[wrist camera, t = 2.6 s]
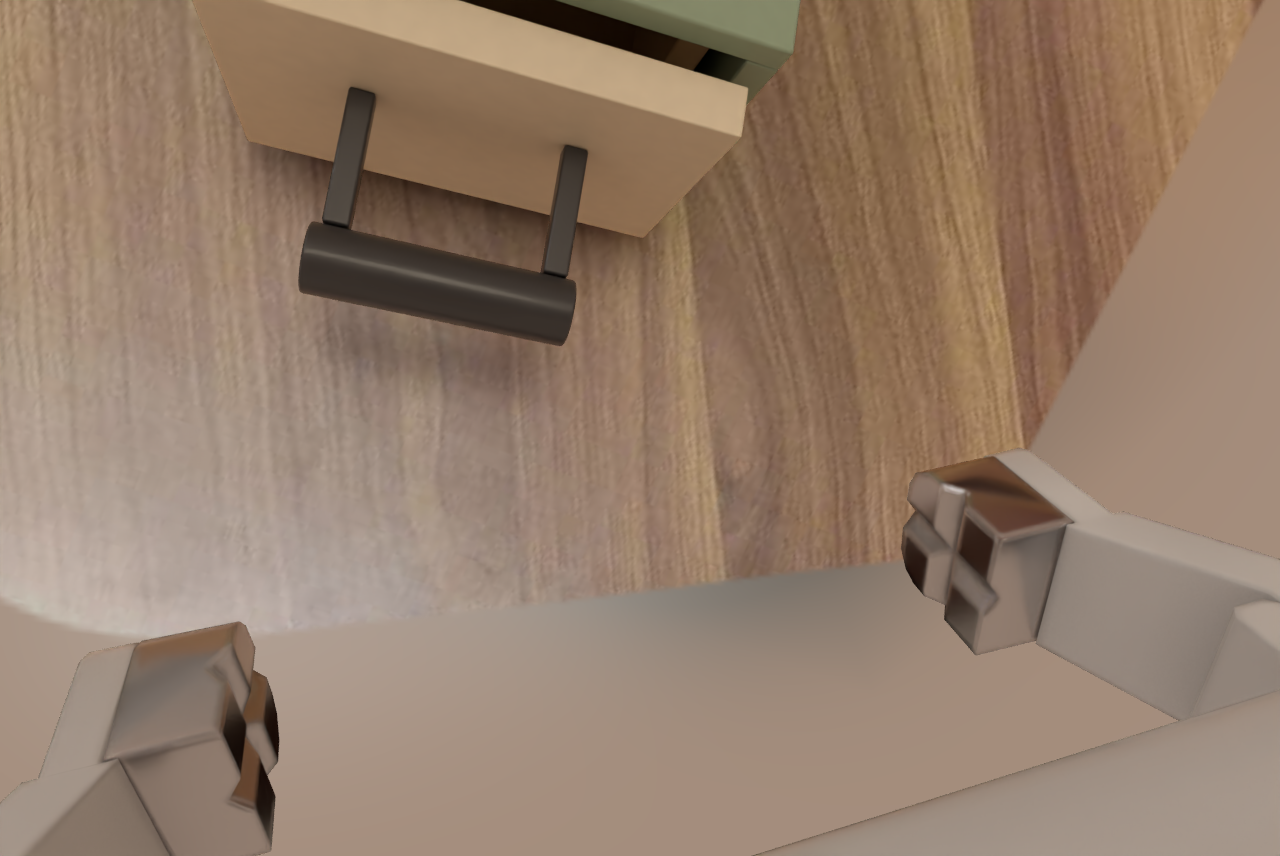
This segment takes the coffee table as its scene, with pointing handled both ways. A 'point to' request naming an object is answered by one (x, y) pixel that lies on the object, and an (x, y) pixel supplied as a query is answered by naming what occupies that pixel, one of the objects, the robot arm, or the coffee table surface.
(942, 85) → the coffee table surface
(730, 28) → the cabinet
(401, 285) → the drawer
